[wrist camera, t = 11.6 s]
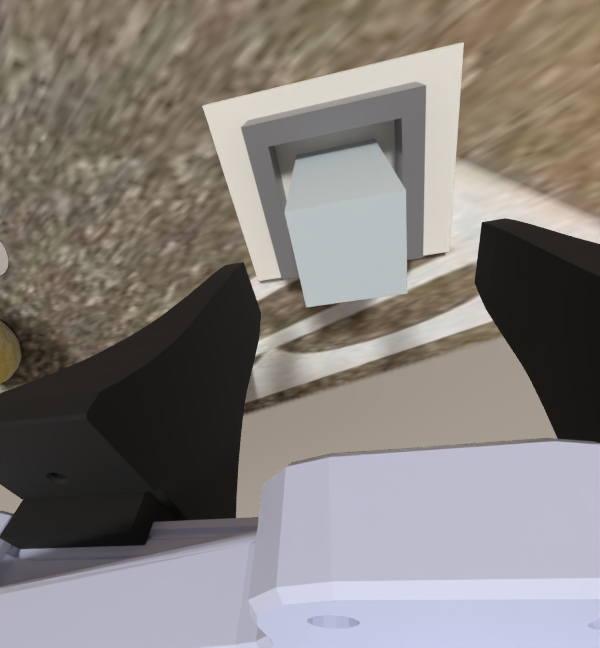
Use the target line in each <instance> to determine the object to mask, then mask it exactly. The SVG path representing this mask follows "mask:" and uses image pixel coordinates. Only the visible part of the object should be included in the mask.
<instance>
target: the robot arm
mask: <svg viewBox="0 0 600 648" xmlns="http://www.w3.org/2000/svg"><path fill="white" fill-rule="evenodd" d="M475 285H476V287H477V290H478V292H479V295H480V297H481V299H482V302H483V304H484V306H485V308H486V310H487V311H488V313H489V315H490V316H491V318H492V319H493V321H494V323H495V324H496V326H497V327H498V329H499V330H500V332H501V333H502V335H503V336H504V338H505V339H506V341H507V343H508V344H509V346H510V347H511V349H512V350H513V352H514V353H515V355H516V356H517V358H518V359H519V361H520V362H521V364H522V366H523V367H524V369H525V371H526V373H527V374H528V376H529V378H530V380H531V382H532V384H533V386H534V388H535V390H536V392H537V394H538V396H539V398H540V400H541V403H542V405H543V406H544V409H545V411H546V413H547V416H548V418H549V420H550V422H551V425H552V427H553V429H554V431H555V433H556V435H557V438H558V439H551V438H540V439H526V440H513V441H499V442H485V443H471V444H457V445H444V446H430V447H417V448H402V449H389V450H376V451H375V450H374V451H361V452H347V453H333V454H327V455H322V456H318V457H314V458H309V459H305V460H300V461H296V462H292V463H291V464H289V465H288V466H286V467H285V468H284V469H283V470H281V471H280V472H279V473H278V474H276V475H275V476H274V477H272V478H271V479H270V480H269V481H267V482H266V483H265V484H264V485H263V489H262V496H261V504H260V511H259V517H252V518H236V495H237V478H238V463H239V450H240V439H241V438H240V437H241V429H242V420H243V411H244V403H245V398H246V392H247V388H248V384H249V380H250V375H251V371H252V367H253V363H254V358H255V354H256V350H257V345H258V341H259V333H260V319H261V312H260V309H259V306H258V303H257V300H256V297H255V294H254V291H253V288H252V285H251V283H250V280H249V277H248V274H247V271H246V268H245V265H244V262H242V263H236V264H230V265H225V266H224V267H222V268H221V269H219V270H218V271H217V272H215V273H214V274H213V275H212V276H210V277H209V278H208V279H207V280H206V281H205V282H203V283H202V284H201V285H200V286H199V287H197V288H196V289H195V290H194V291H193V292H192V293H190V294H189V295H188V296H187V297H185V298H184V299H183V300H182V301H180V302H179V303H178V304H177V305H175V306H174V307H173V308H171V309H170V310H169V311H168V312H166V313H165V314H164V315H162V316H161V317H159V318H158V319H156V320H155V321H154V322H152V323H151V324H149V325H147V326H146V327H144V328H143V329H141V330H140V331H138V332H136V333H135V334H133V335H131V336H130V337H128V338H126V339H124V340H122V341H120V342H119V343H117V344H115V345H113V346H111V347H110V348H108V349H106V350H104V351H102V352H100V353H98V354H96V355H94V356H92V357H90V358H88V359H86V360H83V361H81V362H79V363H77V364H74V365H72V366H70V367H68V368H65V369H63V370H61V371H58V372H56V373H53V374H51V375H48V376H46V377H43V378H40V379H38V380H35V381H32V382H30V383H27V384H24V385H22V386H19V387H16V388H14V389H11V390H8V391H5V392H3V393H1V394H0V484H1V485H2V486H4V487H5V488H7V489H8V490H10V491H11V492H13V493H14V494H16V495H17V496H18V497H20V498H21V499H23V501H22V502H21V504H20V505H19V507H18V509H17V510H16V512H15V513H14V514H12V513H8V512H4V511H0V648H600V244H597V243H593V242H590V241H586V240H582V239H579V238H575V237H572V236H568V235H565V234H561V233H558V232H555V231H551V230H548V229H545V228H541V227H538V226H535V225H531V224H528V223H524V222H520V221H516V220H511V219H499V220H493V221H487V222H482V226H481V234H480V243H479V251H478V259H477V268H476V276H475Z"/></svg>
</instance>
